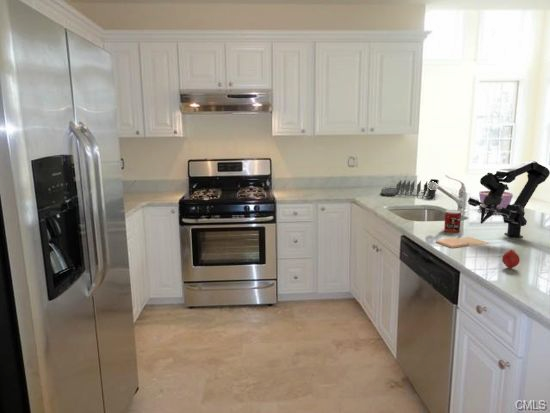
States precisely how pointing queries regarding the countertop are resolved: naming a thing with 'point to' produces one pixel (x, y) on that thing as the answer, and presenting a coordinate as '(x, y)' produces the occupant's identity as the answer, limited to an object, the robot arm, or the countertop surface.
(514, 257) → the onion
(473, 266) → the countertop surface
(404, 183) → the dish rack
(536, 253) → the countertop surface
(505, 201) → the bowl of food
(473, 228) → the countertop surface
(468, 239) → the mat
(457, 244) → the tile
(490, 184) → the robot arm
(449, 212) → the canned food
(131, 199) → the countertop surface
